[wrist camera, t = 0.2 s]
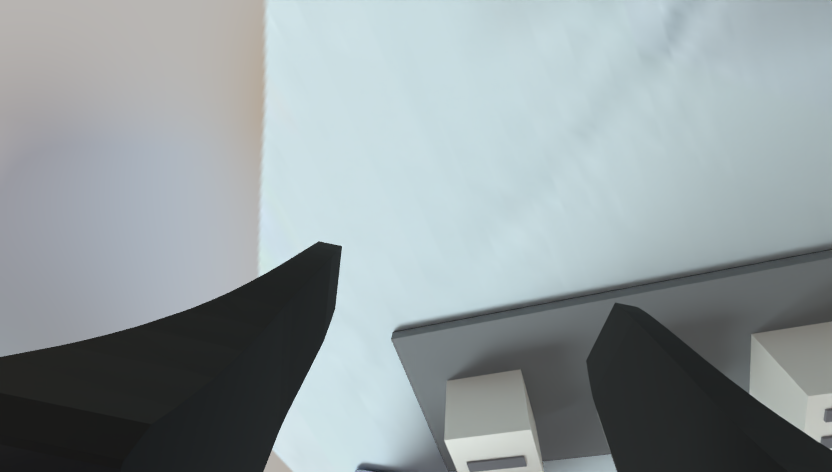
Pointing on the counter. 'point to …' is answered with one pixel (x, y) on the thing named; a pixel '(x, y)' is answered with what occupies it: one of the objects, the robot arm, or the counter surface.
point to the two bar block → (796, 376)
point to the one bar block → (491, 424)
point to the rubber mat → (580, 327)
